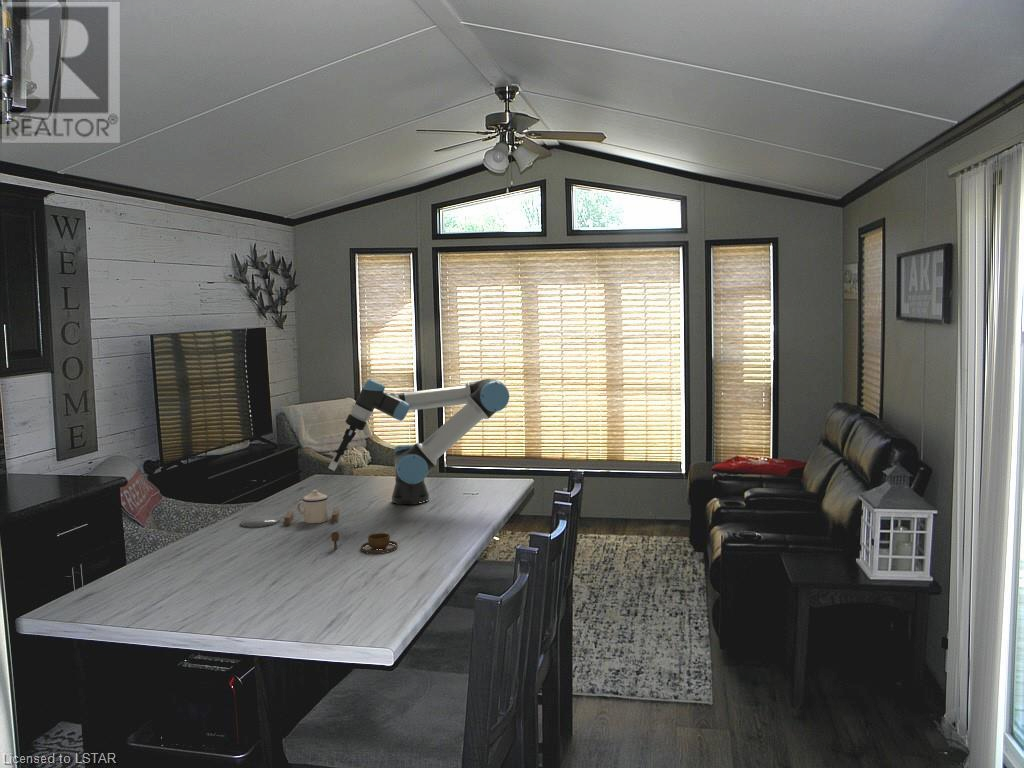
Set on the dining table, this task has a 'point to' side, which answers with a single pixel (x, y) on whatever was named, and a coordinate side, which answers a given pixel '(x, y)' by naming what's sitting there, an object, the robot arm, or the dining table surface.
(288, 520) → the walnut cradle
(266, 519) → the grey flat disc
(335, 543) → the place setting
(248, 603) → the dining table surface
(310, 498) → the teacup with lid
